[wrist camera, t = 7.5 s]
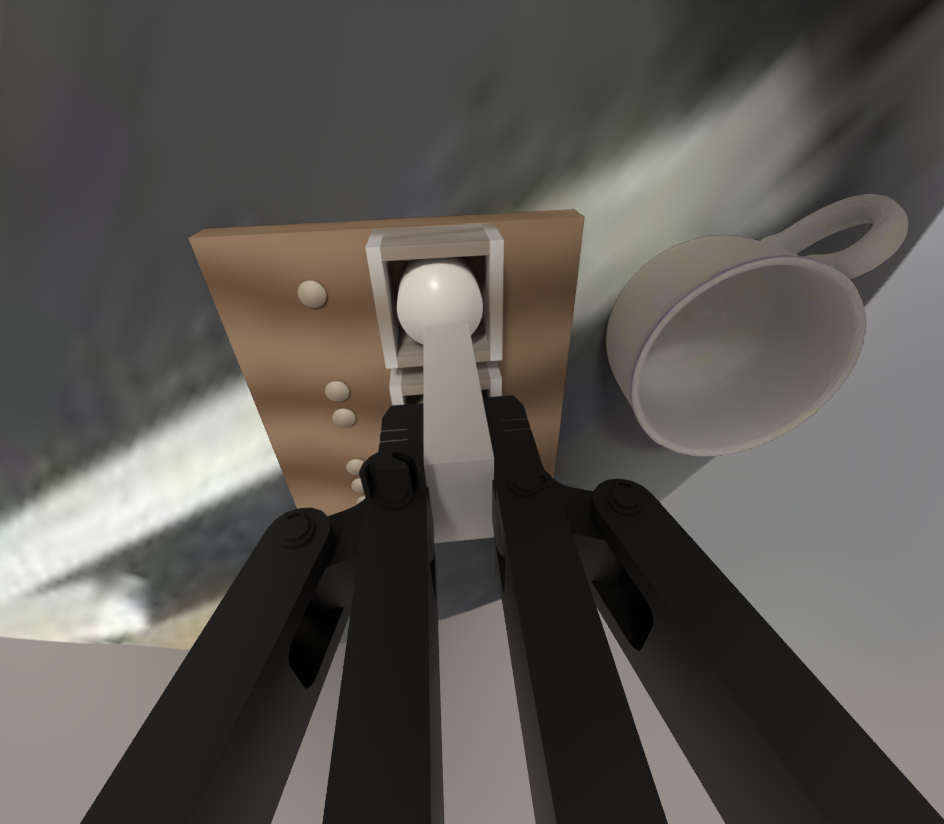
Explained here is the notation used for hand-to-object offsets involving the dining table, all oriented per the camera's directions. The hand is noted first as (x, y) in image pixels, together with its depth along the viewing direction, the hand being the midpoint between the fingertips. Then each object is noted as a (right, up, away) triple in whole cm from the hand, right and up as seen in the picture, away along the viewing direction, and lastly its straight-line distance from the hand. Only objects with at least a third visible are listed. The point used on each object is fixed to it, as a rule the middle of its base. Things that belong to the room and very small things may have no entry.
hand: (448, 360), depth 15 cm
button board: (-3, 0, +13) cm, 13 cm away
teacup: (+14, +6, +11) cm, 19 cm away
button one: (-1, +5, +7) cm, 9 cm away
